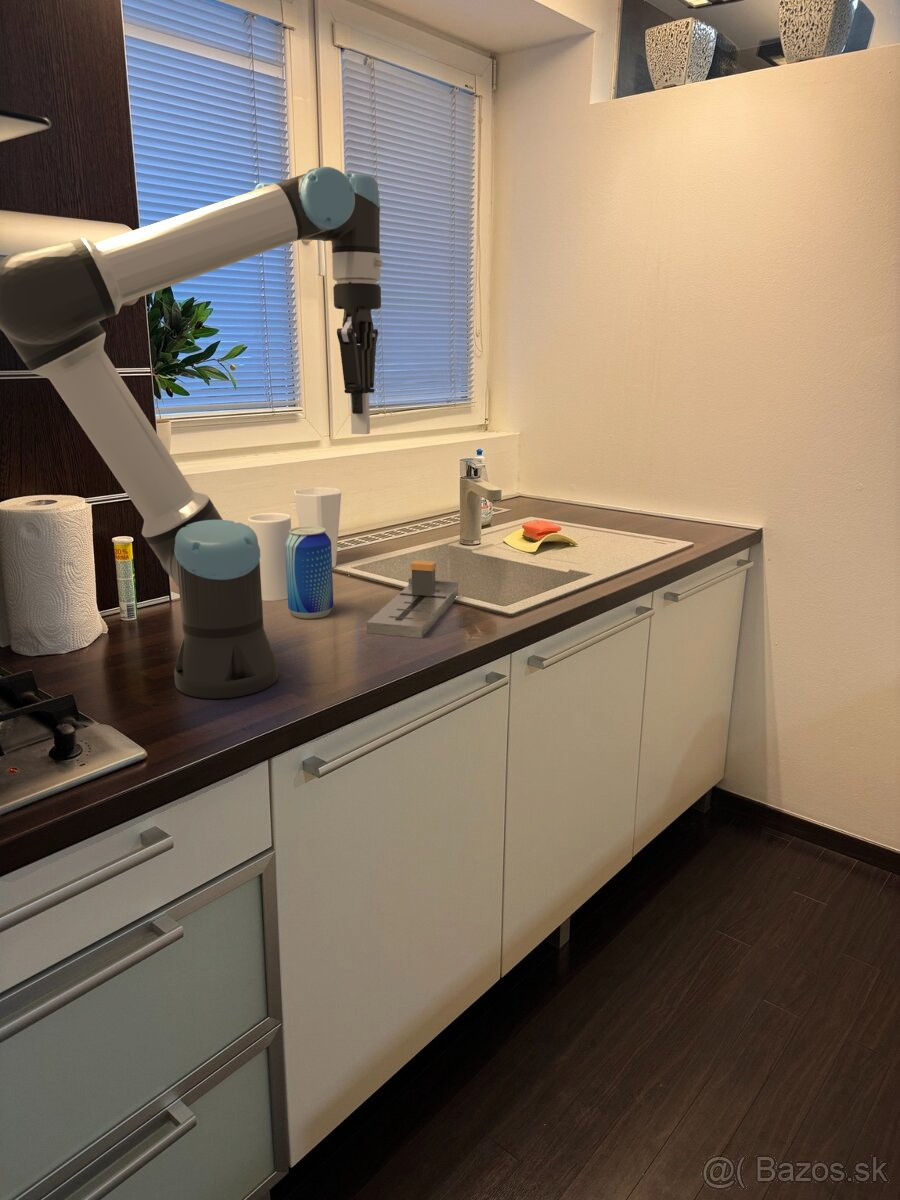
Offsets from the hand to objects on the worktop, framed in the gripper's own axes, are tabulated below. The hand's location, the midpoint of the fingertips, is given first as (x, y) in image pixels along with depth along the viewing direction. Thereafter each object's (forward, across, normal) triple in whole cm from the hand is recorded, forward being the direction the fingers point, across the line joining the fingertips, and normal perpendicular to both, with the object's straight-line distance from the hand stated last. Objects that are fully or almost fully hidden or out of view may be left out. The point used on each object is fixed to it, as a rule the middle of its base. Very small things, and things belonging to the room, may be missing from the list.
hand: (360, 433), depth 144 cm
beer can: (+35, +6, +13) cm, 37 cm away
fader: (+32, +16, -6) cm, 37 cm away
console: (+34, +11, -6) cm, 37 cm away
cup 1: (+35, +15, +25) cm, 45 cm away
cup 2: (+35, +39, +25) cm, 58 cm away
